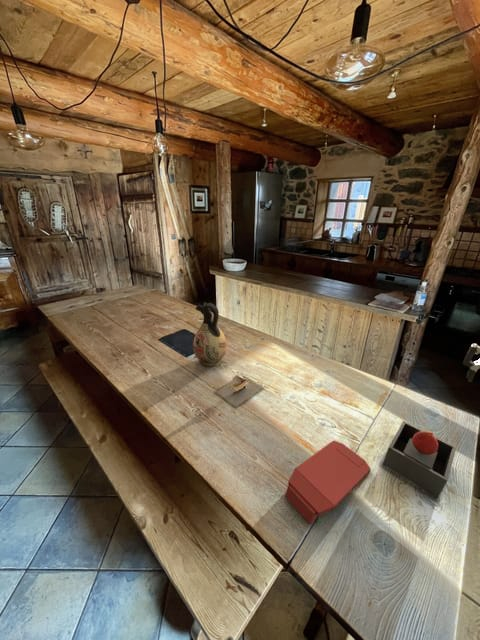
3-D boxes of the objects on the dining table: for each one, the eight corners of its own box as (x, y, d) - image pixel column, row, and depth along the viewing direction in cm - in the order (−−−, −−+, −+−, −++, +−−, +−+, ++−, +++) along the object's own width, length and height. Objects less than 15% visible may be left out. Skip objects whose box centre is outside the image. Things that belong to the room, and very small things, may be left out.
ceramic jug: (187, 361, 124) (181, 301, 110) (211, 348, 134) (209, 292, 121) (211, 376, 113) (209, 313, 100) (236, 361, 124) (236, 301, 111)
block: (405, 448, 82) (410, 437, 79) (432, 463, 77) (437, 452, 75) (398, 463, 77) (403, 452, 75) (426, 480, 73) (432, 468, 71)
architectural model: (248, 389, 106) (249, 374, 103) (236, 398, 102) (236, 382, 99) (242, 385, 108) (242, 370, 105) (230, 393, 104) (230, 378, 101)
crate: (396, 438, 86) (403, 420, 83) (446, 465, 78) (456, 447, 74) (381, 465, 77) (388, 447, 74) (436, 500, 69) (447, 481, 66)
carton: (332, 450, 86) (279, 490, 70) (335, 438, 84) (282, 477, 69) (367, 479, 77) (317, 532, 62) (373, 466, 76) (322, 518, 60)
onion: (412, 458, 73) (421, 438, 70) (406, 441, 78) (414, 421, 75) (436, 463, 72) (446, 443, 68) (428, 445, 77) (437, 425, 73)
